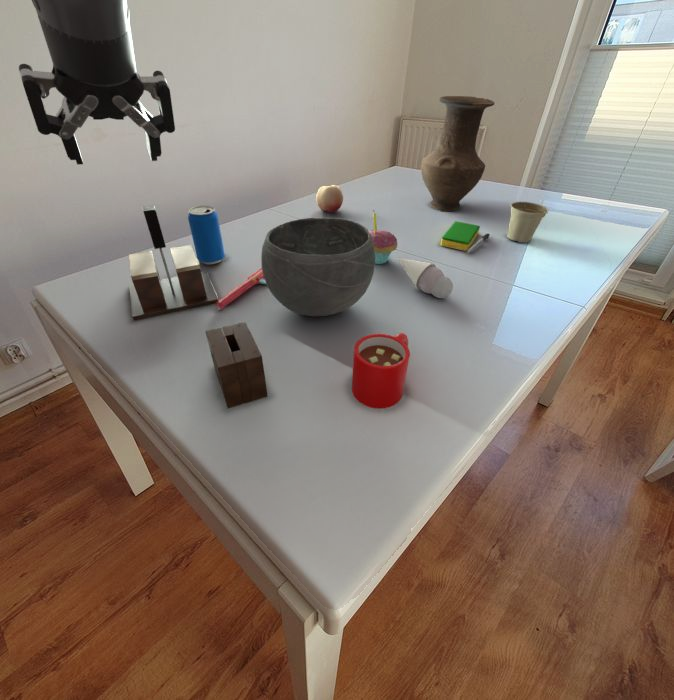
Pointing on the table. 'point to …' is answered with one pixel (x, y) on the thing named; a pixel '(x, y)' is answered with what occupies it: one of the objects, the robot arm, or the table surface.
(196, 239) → the beverage can
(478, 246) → the knife
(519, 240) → the flower pot
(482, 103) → the vase
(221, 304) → the pink plastic rod
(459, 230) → the dish sponge
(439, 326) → the table surface
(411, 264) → the ice cream cone
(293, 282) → the bowl
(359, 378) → the mug
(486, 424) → the table surface
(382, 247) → the cupcake
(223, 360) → the knife block
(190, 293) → the slotted block
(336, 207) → the fruit
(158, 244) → the black block with pin
